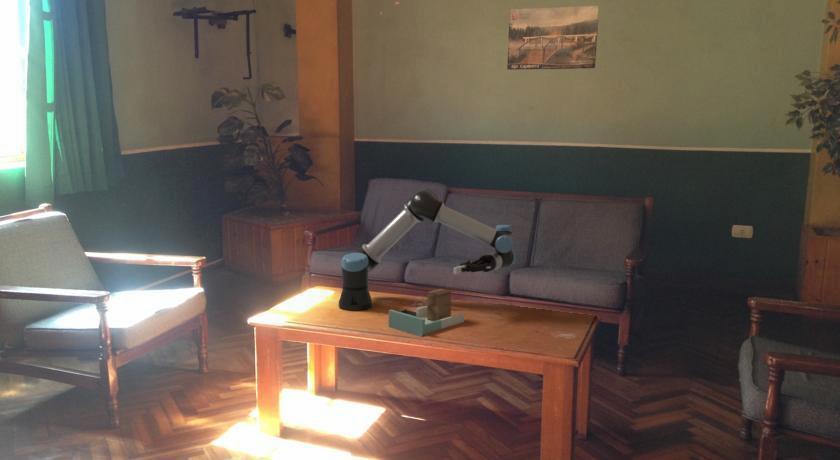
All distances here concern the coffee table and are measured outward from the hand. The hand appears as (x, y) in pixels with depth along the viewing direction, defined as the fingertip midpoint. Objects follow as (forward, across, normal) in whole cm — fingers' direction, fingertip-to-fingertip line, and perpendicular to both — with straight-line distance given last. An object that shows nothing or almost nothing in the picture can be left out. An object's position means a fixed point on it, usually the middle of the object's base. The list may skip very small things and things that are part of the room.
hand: (454, 270), depth 303 cm
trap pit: (+18, +13, -20) cm, 30 cm away
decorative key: (-2, +17, -21) cm, 27 cm away
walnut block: (+10, 0, -19) cm, 21 cm away
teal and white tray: (+17, 0, -20) cm, 26 cm away
